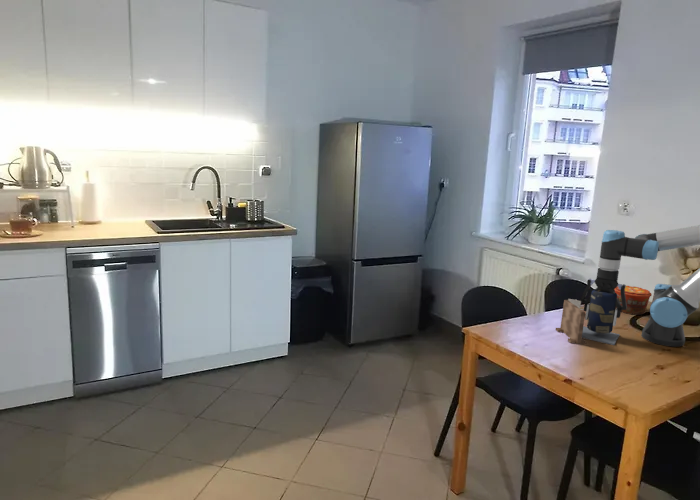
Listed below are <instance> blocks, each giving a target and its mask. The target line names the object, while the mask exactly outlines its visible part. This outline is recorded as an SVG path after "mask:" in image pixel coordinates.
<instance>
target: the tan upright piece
mask: <svg viewBox="0 0 700 500" xmlns="http://www.w3.org/2000/svg"><path fill="white" fill-rule="evenodd" d="M585 317H586V311H584V310H581V309H580V308H578V307H577V306H575V305H574V304H573V303H571V302H570V301H568V299H564V300H563V306H562V314H561V319H560V321H561V322H560V327H555V331H556V332H557V333H564V334H565V336H567V337H568V338H567V342H568V343H569V344H576V345H581V344H583V345H585V344H586V342H587V341H586V339H585V338H582V332H583V326H584V324H585Z"/></svg>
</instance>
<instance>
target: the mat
mask: <svg viewBox="0 0 700 500" xmlns="http://www.w3.org/2000/svg"><path fill="white" fill-rule="evenodd" d="M619 337H620V334H619V333H615V332H610V333H606V334H604V333H597V332H593V331H591V330H589V329H588V328H587V326H584V325H583V332H582V339H584V340H591V341H593V342H594V341H595V342H598V343H601V344H602V343H603V344H607V345H611V346H615V345H616V343H617V341H618V340H619Z"/></svg>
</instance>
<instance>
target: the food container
mask: <svg viewBox="0 0 700 500" xmlns="http://www.w3.org/2000/svg"><path fill="white" fill-rule="evenodd" d="M614 290H615V293H616V294H617V298H618V300H619V302H620V305H621V306H622V300H621V292H620V291H621V290H619V287H618V286H617V287H616V288H615V289H614ZM625 297H626V304H627V308H626V310H621V313H624V314H629V315H636V316H638V315H639V316H640V315H641V316H642V315H644V314H646V310H647V307H648V304H649V300H650V298H651V297H653V295H652V292H650V290H648V289H644V288H642V287H639V286H630V285H626V287H625ZM616 309H617V307H616ZM616 309H615V310H616Z"/></svg>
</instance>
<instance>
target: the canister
mask: <svg viewBox="0 0 700 500" xmlns="http://www.w3.org/2000/svg"><path fill="white" fill-rule="evenodd" d="M595 290H596V288H594V289H592V290H591V292H590V295H591V300H590V301H589V303H590V307H589V315H588V320H587V322H586V323H587V324H586V327H587V328H588V329H589V330H591V331H593V332H597V333H604V334H606V333H610V332H612V331H613V328H614V326H613V321H614V315H615V310H616V305H615V302H616V298H617V294H616V293H615V294H611V293H610V292H605V291H601V290H599V291H595ZM612 333H613V332H612Z"/></svg>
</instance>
